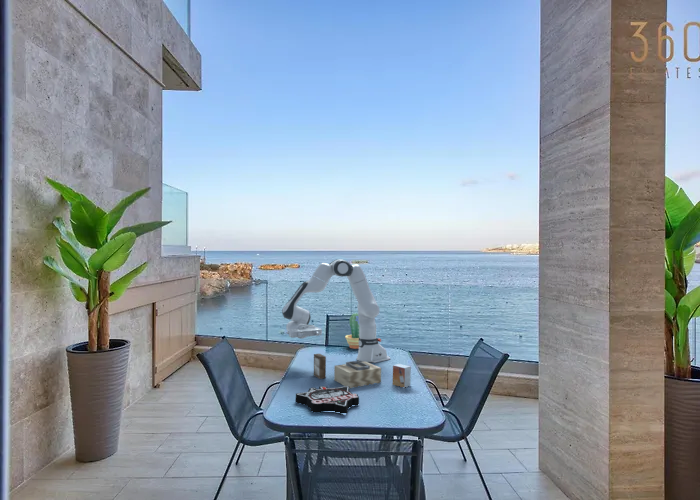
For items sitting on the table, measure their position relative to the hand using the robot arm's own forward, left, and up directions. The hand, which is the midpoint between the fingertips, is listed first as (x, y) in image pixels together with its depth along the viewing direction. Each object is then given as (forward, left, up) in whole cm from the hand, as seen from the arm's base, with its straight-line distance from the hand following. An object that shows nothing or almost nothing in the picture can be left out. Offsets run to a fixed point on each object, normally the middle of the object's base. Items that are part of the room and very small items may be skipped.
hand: (310, 334), depth 256 cm
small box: (-31, +47, -22) cm, 60 cm away
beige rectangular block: (-14, +30, -21) cm, 40 cm away
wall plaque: (+15, +54, -22) cm, 60 cm away
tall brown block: (0, +12, -21) cm, 25 cm away
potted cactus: (-57, -43, -22) cm, 75 cm away
